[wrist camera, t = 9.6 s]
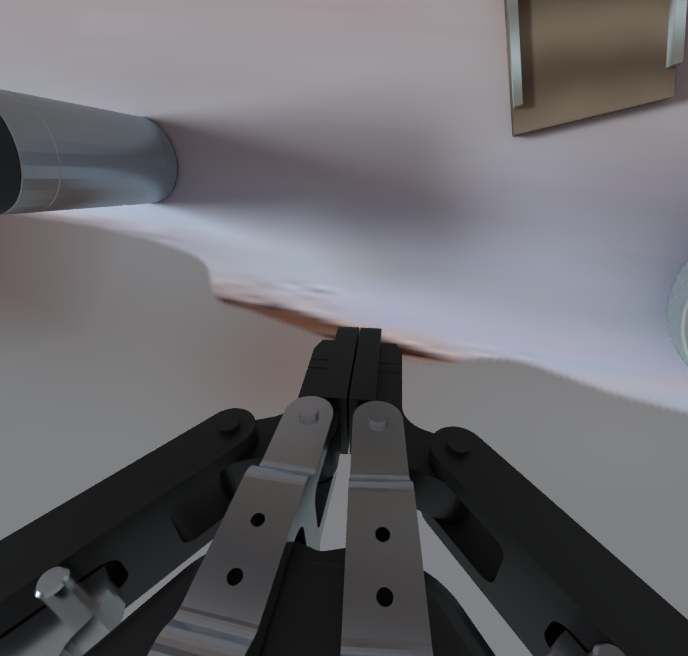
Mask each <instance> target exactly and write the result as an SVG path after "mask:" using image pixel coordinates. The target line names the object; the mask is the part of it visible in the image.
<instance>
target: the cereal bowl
mask: <svg viewBox="0 0 688 656" xmlns="http://www.w3.org/2000/svg"><path fill="white" fill-rule="evenodd" d="M667 320H668V328H669V332H670V336H671V339H672V341H673V344H674V346H675V348H676V350H677V352H678V354H679V355H680V356H681V358H682V360H683V361H684V362H685V363H686V365H687V366H688V261H687V262H686V263H685V265H684V266H683V267H682V268H681V271H680V272H679V273H678V276H677V277H676V279H675V283H674V284H673V286H672V290H671V292H670V296H669V301H668V307H667Z"/></svg>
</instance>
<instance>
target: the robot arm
mask: <svg viewBox="0 0 688 656" xmlns="http://www.w3.org/2000/svg"><path fill="white" fill-rule="evenodd" d="M176 177H177V161H176V155H175V152H174V149H173V146H172V144H171V142H170V140H169V138H168V137H167V136H166V134H165V133H164V131H163V130H162V129H161V128H160V127H159V126H158V125H157V124H155V123H154V122H152V121H151V120H149V119H146V118H143V117H139V116H134V115H129V114H124V113H119V112H114V111H109V110H104V109H99V108H94V107H89V106H83V105H78V104H73V103H68V102H63V101H58V100H52V99H47V98H42V97H37V96H32V95H27V94H22V93H16V92H11V91H6V90H0V215H8V214H21V213H34V212H44V211H57V210H70V209H83V208H95V207H108V206H121V205H135V204H147V203H157V202H159V201H162V200H163V199H165V198H166V197H167V196H168V195H169V194H170V193H171V191H172V190H173V187H174V185H175V182H176ZM349 442H350V454H351V468H350V479H349V489H348V509H347V531H346V548H343V549H336V550H329V551H320V542H321V536H322V531H323V527H324V523H325V519H326V515H327V511H328V507H329V503H330V499H331V495H332V491H333V487H334V483H335V479H336V469H337V466H338V461H339V455H340V453H341V454H348V449H349ZM417 510H419V511H421V513H422V515H423V518H424V519H425V521H426V522H427V524H428V525H429V526H430V527H431V528H432V530H433V531H434V532H435V534H436V535H437V536H438V537H439V539H440V540H441V541H442V542H443V544H444V545H445V546H446V547H447V549H448V550H449V551H450V552H451V554H452V555H453V556H454V557H455V559H456V560H457V561H458V562H459V564H460V565H461V566H462V567H463V568H464V570H465V571H466V572H467V574H468V575H469V576H470V577H471V579H472V580H473V581H474V582H475V584H476V585H477V586H478V587H479V589H480V590H481V591H482V592H483V594H484V595H485V596H486V597H487V598H488V600H489V601H490V602H491V603H492V605H493V606H494V607H495V609H496V610H497V611H498V612H499V613H500V615H501V616H502V617H503V619H504V620H505V621H506V622H507V624H508V625H509V626H510V627H511V629H512V630H513V631H514V632H515V634H516V635H517V636H518V637H519V639H520V640H521V641H522V642H523V643H524V645H525V646H526V647H527V648H528V650H529V651H530V652H531V654H532V655H533V656H688V620H687V619H686V618H685V617H684V616H683V615H682V614H680V613H679V612H678V611H677V610H676V609H675V608H674V607H673V606H671V605H670V604H669V603H668V602H667V601H666V600H665V599H663V598H662V597H661V596H660V595H659V594H658V593H656V592H655V591H654V590H653V589H652V588H651V587H650V586H649V585H647V584H646V583H645V582H644V581H643V580H642V579H641V578H639V577H638V576H637V575H636V574H635V573H634V572H632V571H631V570H630V569H629V568H628V567H627V566H626V565H625V564H623V563H622V562H621V561H620V560H619V559H618V558H617V557H615V556H614V555H613V554H612V553H611V552H610V551H609V550H607V549H606V548H605V547H604V546H603V545H602V544H601V543H599V542H598V541H597V540H596V539H595V538H594V537H592V536H591V535H590V534H589V533H588V532H587V531H586V530H584V529H583V528H582V527H581V526H580V525H579V524H578V523H576V522H575V521H574V520H573V519H572V518H571V517H570V516H569V515H567V514H566V513H565V512H564V511H563V510H562V509H561V508H559V507H558V506H557V505H556V504H555V503H554V502H553V501H551V500H550V499H549V498H548V497H547V496H546V495H544V494H543V493H542V492H541V491H540V490H539V489H538V488H536V487H535V486H534V485H533V484H532V483H531V482H530V481H529V480H527V479H526V478H525V477H524V476H523V475H522V474H521V473H519V472H518V471H517V470H516V469H515V468H514V467H512V466H511V465H510V464H509V463H508V462H507V461H506V460H505V459H503V458H502V457H501V456H500V455H499V454H497V452H495V451H494V450H493V449H492V448H491V447H490V446H489V445H487V444H486V443H485V442H484V441H483V440H482V439H480V438H479V437H478V436H477V435H475V434H474V433H473V432H471V431H469V430H467V429H464V428H460V427H445V428H442V429H440V430H438V431H437V432H436V433H431V432H428V431H426V430H423V429H420V428H418V427H417V426H415V425H413V424H412V423H411V422H410V421H409V420H408V419H407V418H406V417H405V415H404V413H403V410H402V353H401V351H400V349H399V348H398V346H397V345H396V344H391V343H381V329H379V328H361V329H359V328H358V327H338V330H337V334H336V338H335V340H322V341H321V342H320V343H319V344H318V345H317V346H316V347H315V348H314V350H313V354H312V357H311V360H310V363H309V366H308V369H307V372H306V375H305V378H304V382H303V384H302V387H301V390H300V394H299V397H298V399H296V400H294V401H293V402H291V403H290V404H289V405H288V406H287V408H286V409H285V411H284V413H283V414H281V415H278V416H275V417H270V418H265V419H259V420H255V418H254V416H253V415H252V414H251V413H250V412H249V411H247V410H244V409H239V408H232V409H227V410H224V411H221V412H219V413H217V414H215V415H214V416H212V417H210V418H208V419H207V420H206V421H203V422H202V423H200V424H198V425H197V426H195V427H193V428H192V429H190V430H188V431H186V432H185V433H183V434H181V435H179V436H178V437H176V438H175V439H173V440H171V441H169V442H168V443H166V444H164V445H162V446H161V447H159V448H157V449H156V450H154V451H152V452H150V453H149V454H147V455H145V456H144V457H142V458H140V459H139V460H137V461H135V462H134V463H132V464H130V465H128V466H127V467H125V468H123V469H121V470H120V471H118V472H116V473H115V474H113V475H111V476H110V477H108V478H106V479H104V480H103V481H101V482H99V483H98V484H96V485H94V486H92V487H91V488H89V489H87V490H86V491H84V492H82V493H81V494H79V495H77V496H75V497H74V498H72V499H70V500H69V501H67V502H65V503H64V504H62V505H60V506H58V507H57V508H55V509H53V510H51V511H50V512H48V513H46V514H45V515H43V516H41V517H40V518H38V519H36V520H34V521H33V522H31V523H29V524H28V525H26V526H24V527H23V528H21V529H19V530H17V531H16V532H14V533H12V534H11V535H9V536H7V537H6V538H4V539H2V540H0V656H495V654H494V653H493V651H492V650H491V648H490V647H489V646H488V644H487V643H486V641H485V640H484V639H483V637H482V635H481V634H480V633H479V631H478V630H477V628H476V627H475V626H474V624H473V622H472V621H471V620H470V618H469V617H468V616H467V614H466V613H465V611H464V610H463V608H462V607H461V605H460V604H459V603H458V601H457V600H456V599H455V597H454V596H453V595H452V594H451V593H450V592H449V591H448V590H447V589H446V588H445V587H444V586H443V585H442V584H441V583H440V582H439V581H438V580H437V579H435V578H434V577H432V576H431V575H430V574H428V573H427V572H425V571H423V562H422V554H421V545H420V536H419V527H418V518H417ZM212 539H213V541H212V542H211V544H210V547H209V549H208V551H207V553H206V554H205V555H204V556H202V557H200V558H199V559H197V560H196V561H194V562H193V563H191V564H190V565H189V566H188V567H186V568H185V569H184V570H183V571H182V572H180V573H179V574H178V575H177V576H176V577H174V578H173V579H172V580H171V581H170V582H168V583H167V584H166V585H165V586H164V587H163V588H161V589H160V590H159V591H158V592H157V593H156V594H154V595H153V596H152V597H151V598H150V599H148V600H147V601H146V602H145V603H144V604H143V605H141V606H140V607H139V608H138V609H137V610H135V611H134V612H133V613H132V614H131V615H130V616H128V617H127V618H126V619H125V620H124V621H122V622H121V620H122V618H123V614H124V610H125V608H127V607H128V606H129V605H130V604H132V603H133V602H134V601H135V600H137V599H138V598H139V597H140V596H142V595H143V594H144V593H145V592H147V591H148V590H149V589H150V588H152V587H153V586H154V585H155V584H157V583H158V582H159V581H160V580H162V579H163V578H164V577H165V576H167V575H168V574H169V573H170V572H172V571H173V570H174V569H176V568H177V567H178V566H179V565H181V564H182V563H183V562H185V561H186V560H187V559H188V558H190V557H191V556H192V555H193V554H195V553H196V552H197V551H198V550H200V549H201V548H202V547H203V546H205V545H206V544H207V543H208V542H210V541H211V540H212Z"/></svg>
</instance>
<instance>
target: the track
mask: <svg viewBox="0 0 688 656" xmlns="http://www.w3.org/2000/svg"><path fill="white" fill-rule="evenodd" d="M504 2H505V19H506V35H507V52H508V69H509V86H510V103H511V120H512V136H516V135H521V134H525V133H529V132H533V131H537V130H541V129H546V128H550V127H554V126H558V125H562V124H566V123H570V122H575V121H579V120H583V119H587V118H591V117H595V116H600V115H604V114H608V113H612V112H616V111H620V110H625V109H629V108H633V107H637V106H641V105H645V104H649V103H654V102H658V101H662V100H665V99H668V98H671V97H673V96H674V91H675V74H676V65H678V64H680V63H682V62H683V58H684V43H685V27H686V12H687V0H504Z"/></svg>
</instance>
